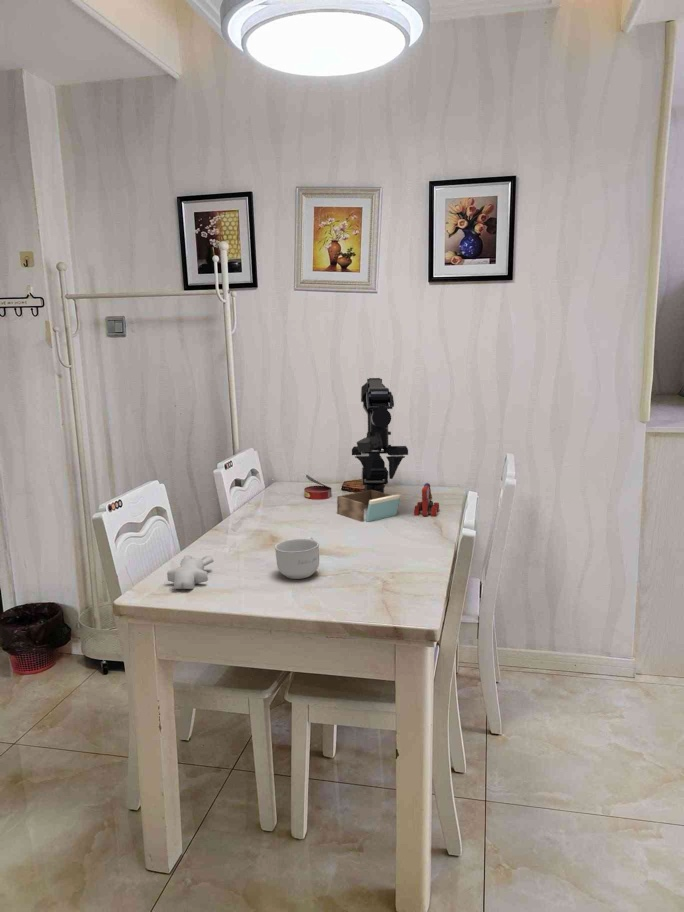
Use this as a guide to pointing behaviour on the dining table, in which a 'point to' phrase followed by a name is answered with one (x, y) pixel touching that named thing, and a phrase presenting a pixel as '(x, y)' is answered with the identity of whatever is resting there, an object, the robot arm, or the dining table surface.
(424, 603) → the dining table surface
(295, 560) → the teacup
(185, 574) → the bunny figurine
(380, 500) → the teal flat slab
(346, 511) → the crate
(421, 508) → the toy fire truck
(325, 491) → the canned food
